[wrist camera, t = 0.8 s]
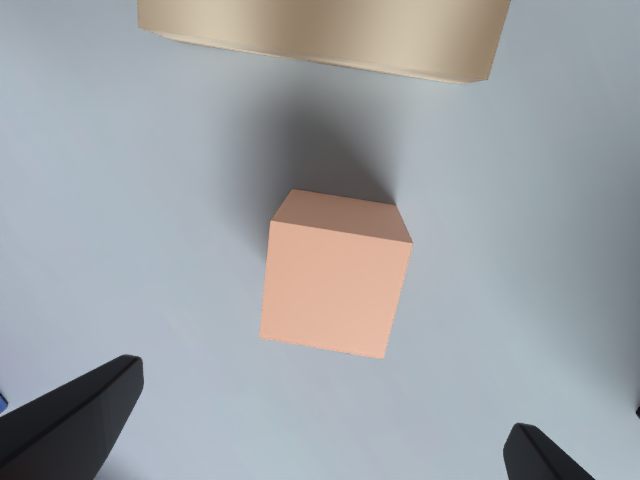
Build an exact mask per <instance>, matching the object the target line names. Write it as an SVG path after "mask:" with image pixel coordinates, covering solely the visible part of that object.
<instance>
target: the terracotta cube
mask: <svg viewBox="0 0 640 480" xmlns="http://www.w3.org/2000/svg"><path fill="white" fill-rule="evenodd" d="M412 247H413V242H412V239H411V237H410V235H409V233H408V231H407V228H406V226H405V224H404V222H403V219H402V217H401V215H400V213H399V210H398V208H397V206H396V205H392V204H385V203H379V202H373V201H366V200H360V199H354V198H347V197H341V196H335V195H329V194H322V193H316V192H310V191H303V190H297V189H292V190H291V191H290V193H289V194H288V196H287V197H286V199H285V200H284V202H283V203H282V204H281V206H280V207H279V209H278V210H277V212H276V213H275V215H274V216H273V218H272V219H271V220H270V230H269V241H268V252H267V262H266V273H265V284H264V295H263V305H262V316H261V327H260V337H259V338H262V339H268V340H274V341H280V342H286V343H292V344H298V345H304V346H309V347H315V348H321V349H327V350H333V351H339V352H345V353H351V354H357V355H362V356H368V357H374V358H380V359H384V355H385V351H386V347H387V343H388V339H389V336H390V332H391V328H392V324H393V320H394V316H395V312H396V309H397V305H398V301H399V297H400V293H401V289H402V285H403V282H404V278H405V274H406V270H407V266H408V262H409V259H410V255H411V251H412Z"/></svg>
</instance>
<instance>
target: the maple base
mask: <svg viewBox="0 0 640 480" xmlns="http://www.w3.org/2000/svg"><path fill="white" fill-rule="evenodd" d="M510 1H511V0H137V4H138V27H139V28H141V29H144V30H147V31H149V32H152V33H155V34H158V35H160V36H163V37H166V38H169V39H171V40H174V41H177V42H181V43H188V44H195V45H202V46H208V47H215V48H222V49H228V50H235V51H242V52H248V53H255V54H262V55H268V56H275V57H282V58H288V59H295V60H302V61H308V62H315V63H322V64H329V65H335V66H342V67H349V68H355V69H362V70H369V71H375V72H382V73H389V74H395V75H402V76H409V77H415V78H422V79H429V80H436V81H442V82H449V83H456V84H466V83H472V82H477V81H483V80H488V77H489V73H490V70H491V66H492V63H493V60H494V56H495V53H496V49H497V46H498V42H499V39H500V35H501V32H502V29H503V25H504V22H505V18H506V15H507V11H508V8H509V4H510Z"/></svg>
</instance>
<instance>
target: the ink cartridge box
mask: <svg viewBox="0 0 640 480" xmlns="http://www.w3.org/2000/svg"><path fill="white" fill-rule="evenodd" d="M7 407H8V405H7V403H6V402H5V401H4V400H3V399H2V397H1V396H0V413H2V412H3V411H4V410H5V409H6V408H7Z"/></svg>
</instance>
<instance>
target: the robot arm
mask: <svg viewBox="0 0 640 480" xmlns="http://www.w3.org/2000/svg"><path fill="white" fill-rule="evenodd" d="M143 385H144V376H143V362H142V359H141V357H138V356H133V355H127V354H125V355H121V356H119V357H117V358H115V359H113V360H111V361H109V362H107V363H105V364H103V365H101V366H100V367H98V368H96V369H94V370H92V371H90V372H88V373H86V374H84V375H82V376H80V377H78V378H76V379H74V380H72V381H70V382H68V383H66V384H64V385H62V386H60V387H58V388H56V389H54V390H52V391H50V392H49V393H47V394H45V395H43V396H41V397H39V398H37V399H35V400H33V401H31V402H29V403H27V404H25V405H23V406H21V407H19V408H17V409H15V410H13V411H11V412H9V413H7V414H5V415H3V416H1V417H0V480H93V479H94V478H95V476H96V474H97V473H98V471H99V470H100V468H101V467H102V465H103V463H104V462H105V460H106V459H107V457H108V455H109V453H110V452H111V450H112V448H113V446H114V444H115V442H116V440H117V439H118V437H119V435H120V433H121V431H122V429H123V427H124V425H125V423H126V421H127V419H128V417H129V416H130V414H131V412H132V410H133V408H134V406H135V404H136V402H137V400H138V398H139V396H140V394H141V392H142V390H143ZM636 414H637V416H638V418H639V419H640V407H639V409H638V410H637V412H636ZM503 457H504V462H505V466H506V470H507V474H508V478H509V480H595V479H594V478H593V477H592V476H591V475H590V474H589V473H587V472H586V471H585V470H584V469H583V468H582V467H581V466H580V465H579V464H577V463H576V462H575V461H574V460H573V459H572V458H571V457H570V456H569V455H567V454H566V453H565V452H564V451H563V450H562V449H561V448H560V447H559V446H558V445H556V444H555V443H554V442H553V441H552V440H551V439H550V438H549V437H548V436H546V435H545V434H544V433H543V432H542V431H541V430H540V429H539V428H537V427H536V426H534V425H529V424H524V423H516V424H515V425H514V426H513V428H512V430H511V432H510V434H509V436H508V439H507V441H506V443H505V445H504V449H503Z"/></svg>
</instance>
